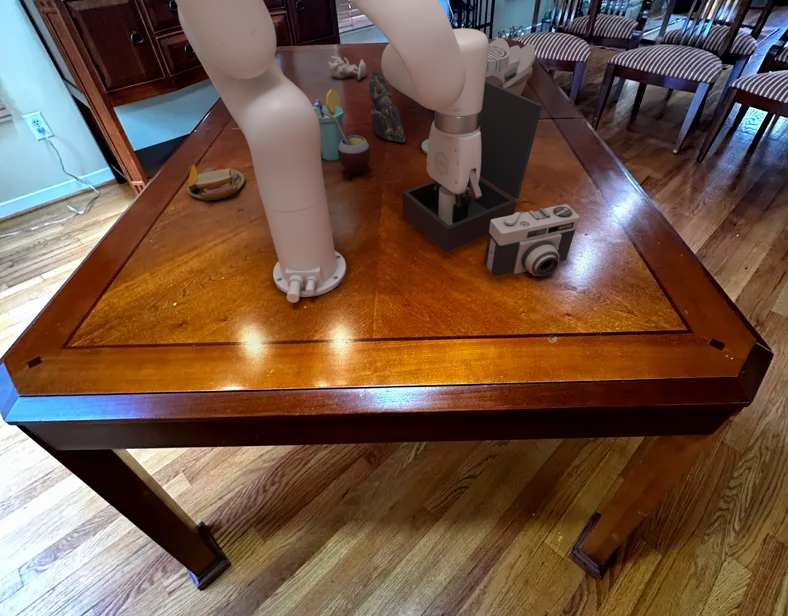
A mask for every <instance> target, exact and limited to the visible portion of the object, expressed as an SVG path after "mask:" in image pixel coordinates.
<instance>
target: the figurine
mask: <svg viewBox="0 0 788 616" xmlns="http://www.w3.org/2000/svg"><path fill="white" fill-rule="evenodd" d="M341 57H342V56H339V55H338V56H335V55H331V56H330V58H331V59H333V60H335V61H334V62H331V61H328V65H329V66H328V69H329V73H330V74H331V75H332V76H333V77H334V78H336V79H338V80H342V79H348V78H350V76H351V75H353V76H354V75H357V81H358V82H359V81H361V79H363V78H366V74H367V65H366V63H365V61H364V58H363V59H360V60H359V61H360V62H359V64H358V66H357V65H356V64H350V63H351V61H350V60H348V58H347V57H343V59H344V60H342V58H341ZM345 61H346V62H345Z"/></svg>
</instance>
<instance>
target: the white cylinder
mask: <svg viewBox="0 0 788 616" xmlns="http://www.w3.org/2000/svg"><path fill="white" fill-rule="evenodd" d="M461 196H462V198H463V197H464V196H465V191H464V192H462V193H461ZM454 204H456V200H455V194H454V193H452V192H451V191H449V190H448V189H447V188H445V187H444V186H442V185H441V186H440V188H439V206H438V217H439V218H440V219H442V220H443V221H444V222H445V223H447V224H448V225H451V224H454V223H452V216H453V205H454Z"/></svg>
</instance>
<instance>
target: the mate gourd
mask: <svg viewBox="0 0 788 616" xmlns="http://www.w3.org/2000/svg"><path fill="white" fill-rule="evenodd" d="M322 112H323V111H322ZM323 113H324V114H325V115H327V116H329V117H330V118H331V119H333V120H334V123H335V125H337V127H338V129H339V131H340V133H341V135H342V137H343V139H342V140H341V142H340V144H339V146H338V156H339V159H338V160H339V163H340V164H341V166H342V168H343V171H344V173H347V178H346V179H347V181H349V182H350V181H351V180H353V175H357V174H361V175H368V170H369V163H370V161H371V160H370V159H371V149H370V148H371V147H370V145H369V143H368V141H367V139H366V138H364V137H363V136H361V135H355V134H353V135H347V136H345V134H344V131H343V128H342V129H341V127H340V125H339V122H338V120H337V119H335V118H334V117H333V116H332V115H330V114H328V113H325V112H323Z"/></svg>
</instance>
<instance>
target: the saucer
mask: <svg viewBox="0 0 788 616" xmlns="http://www.w3.org/2000/svg"><path fill="white" fill-rule="evenodd" d="M428 142H429V138H427V139H425V140H423V141H422V143H421V150H422V152H423V153H424V154H426V155H427V152H428Z"/></svg>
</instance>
